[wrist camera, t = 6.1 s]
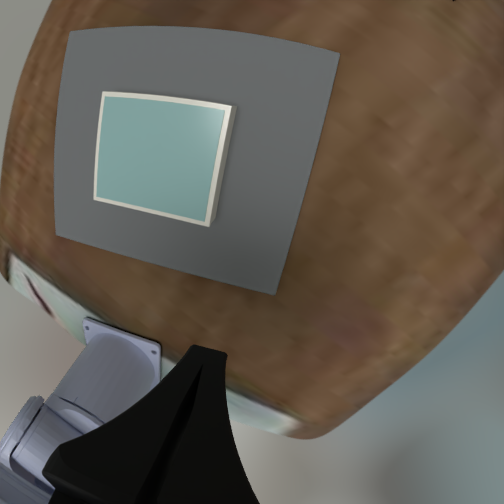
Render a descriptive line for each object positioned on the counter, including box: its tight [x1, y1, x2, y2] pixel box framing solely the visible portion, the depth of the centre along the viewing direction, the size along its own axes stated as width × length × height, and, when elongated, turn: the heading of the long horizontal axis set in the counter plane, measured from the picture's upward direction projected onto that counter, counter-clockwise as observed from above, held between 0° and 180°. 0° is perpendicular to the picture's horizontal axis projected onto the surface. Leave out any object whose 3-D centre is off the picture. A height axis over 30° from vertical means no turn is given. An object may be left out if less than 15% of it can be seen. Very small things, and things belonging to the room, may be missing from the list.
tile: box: [94, 91, 237, 227], centre depth 17 cm, size 7×2×8 cm
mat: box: [54, 26, 340, 295], centre depth 18 cm, size 16×18×1 cm
